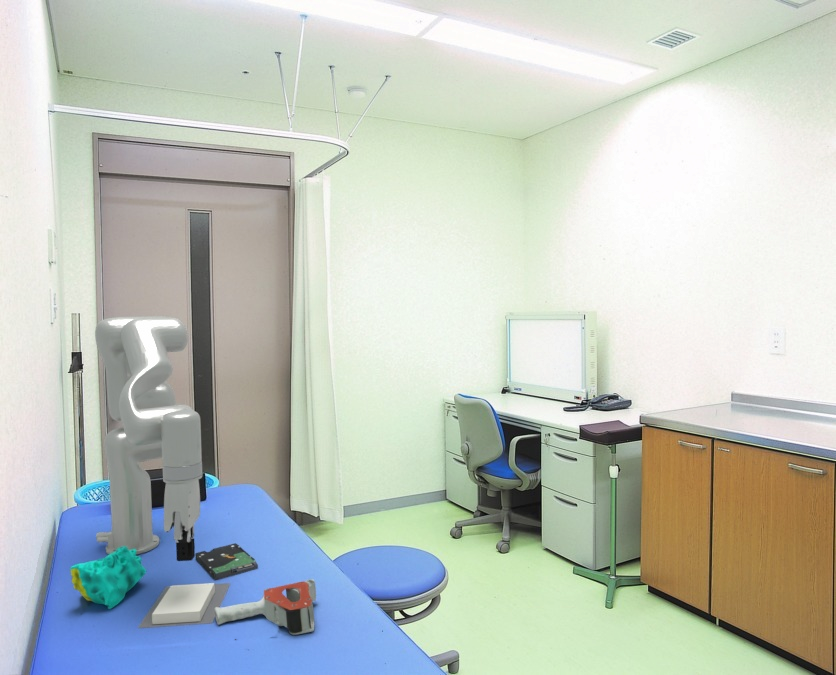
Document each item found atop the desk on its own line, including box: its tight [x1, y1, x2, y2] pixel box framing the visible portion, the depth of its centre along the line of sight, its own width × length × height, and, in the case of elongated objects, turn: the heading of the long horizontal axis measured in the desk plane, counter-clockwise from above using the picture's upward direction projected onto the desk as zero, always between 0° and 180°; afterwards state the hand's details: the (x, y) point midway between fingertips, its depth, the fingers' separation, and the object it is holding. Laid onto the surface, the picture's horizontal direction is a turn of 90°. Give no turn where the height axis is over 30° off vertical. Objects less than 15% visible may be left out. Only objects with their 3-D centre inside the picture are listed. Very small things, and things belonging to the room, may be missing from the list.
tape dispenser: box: [214, 578, 317, 636], centre depth 119 cm, size 18×5×20 cm
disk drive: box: [195, 543, 259, 581], centre depth 143 cm, size 10×3×15 cm
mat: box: [137, 582, 231, 629], centre depth 124 cm, size 14×17×1 cm
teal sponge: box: [69, 546, 147, 610], centre depth 128 cm, size 15×12×13 cm
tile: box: [152, 582, 216, 624], centre depth 122 cm, size 9×2×12 cm
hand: (185, 558), depth 123 cm, fingers closed
